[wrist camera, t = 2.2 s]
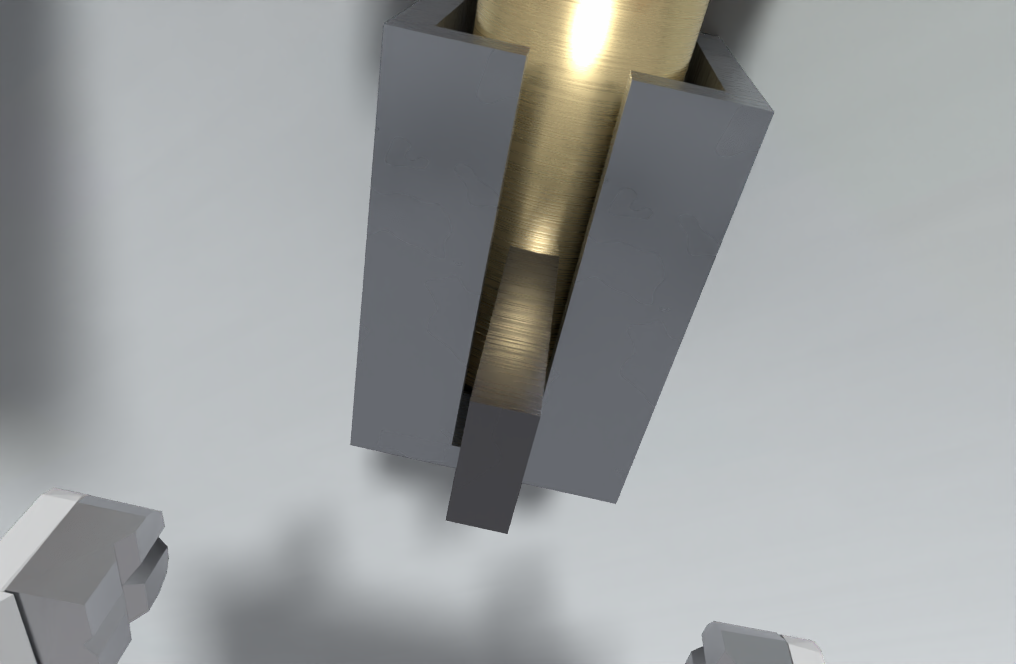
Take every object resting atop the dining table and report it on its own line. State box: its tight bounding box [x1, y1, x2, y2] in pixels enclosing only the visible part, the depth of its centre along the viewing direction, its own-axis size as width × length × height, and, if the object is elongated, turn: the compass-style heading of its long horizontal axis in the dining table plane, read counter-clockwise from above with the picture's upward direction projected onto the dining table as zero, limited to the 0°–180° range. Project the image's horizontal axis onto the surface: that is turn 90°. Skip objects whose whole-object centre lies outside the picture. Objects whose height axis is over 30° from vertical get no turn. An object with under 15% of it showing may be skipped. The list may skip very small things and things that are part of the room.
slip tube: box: [446, 0, 710, 534], centre depth 15 cm, size 5×12×11 cm, turn 169°
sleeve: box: [350, 0, 774, 504], centre depth 19 cm, size 7×11×7 cm
